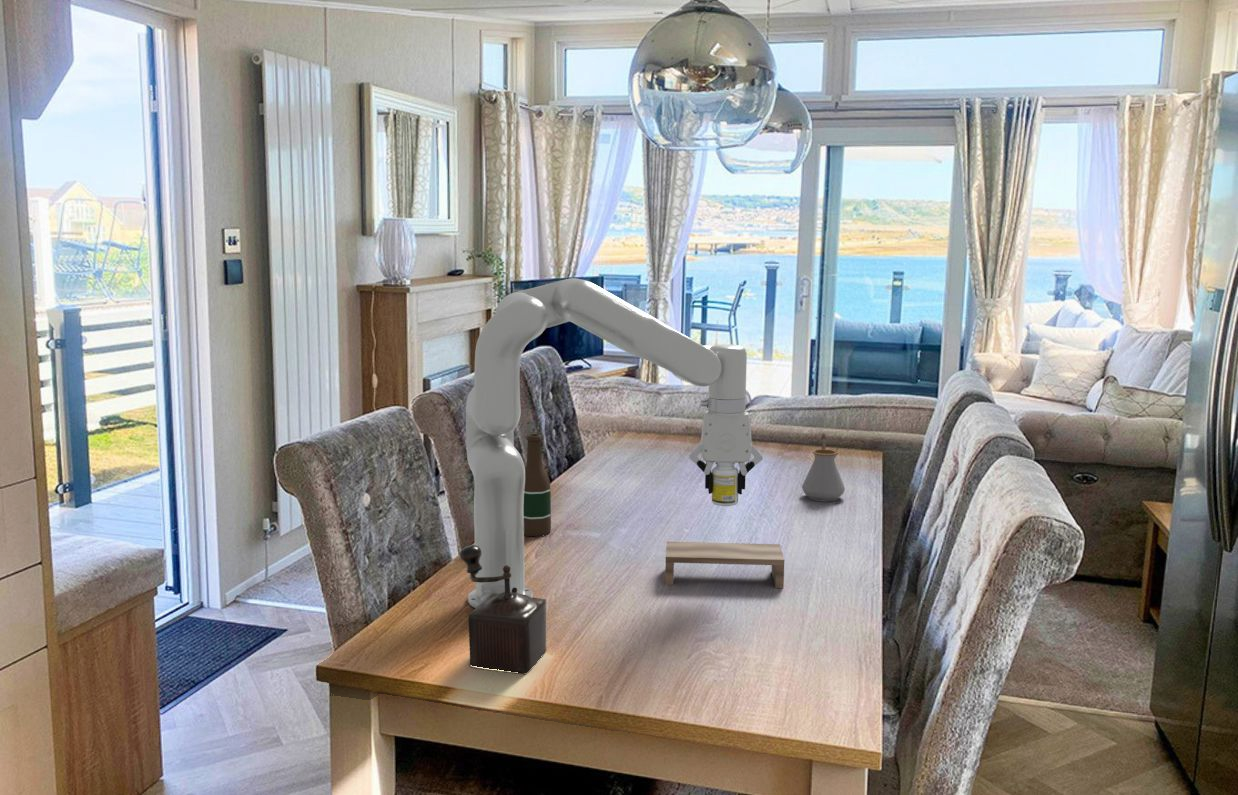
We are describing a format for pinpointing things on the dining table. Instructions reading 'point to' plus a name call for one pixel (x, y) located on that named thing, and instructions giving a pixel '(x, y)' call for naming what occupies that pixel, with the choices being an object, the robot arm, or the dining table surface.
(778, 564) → the wooden shelf
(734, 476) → the supplement bottle
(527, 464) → the beer bottle
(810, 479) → the coffee pot
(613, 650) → the dining table surface
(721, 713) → the dining table surface
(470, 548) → the manual coffee grinder
